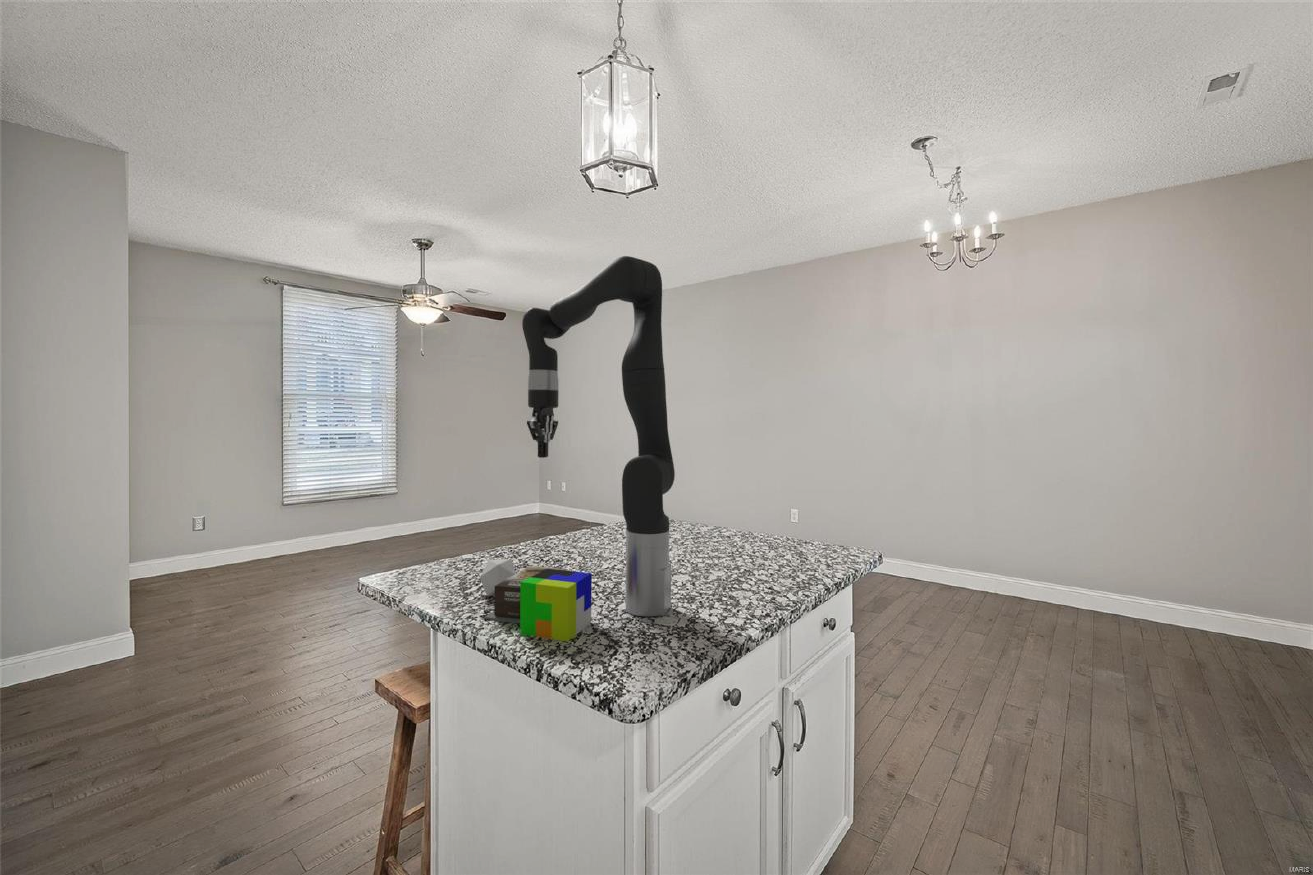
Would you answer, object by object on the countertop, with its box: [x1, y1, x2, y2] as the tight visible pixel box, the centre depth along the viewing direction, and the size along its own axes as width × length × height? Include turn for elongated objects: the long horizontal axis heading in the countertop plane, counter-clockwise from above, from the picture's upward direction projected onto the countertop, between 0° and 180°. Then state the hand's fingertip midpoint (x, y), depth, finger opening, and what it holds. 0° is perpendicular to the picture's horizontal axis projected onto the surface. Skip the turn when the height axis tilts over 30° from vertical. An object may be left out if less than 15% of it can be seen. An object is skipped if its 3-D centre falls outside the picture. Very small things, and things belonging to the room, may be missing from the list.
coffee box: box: [493, 565, 566, 618], centre depth 116 cm, size 9×6×16 cm
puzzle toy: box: [519, 569, 593, 643], centre depth 105 cm, size 10×10×10 cm
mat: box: [484, 610, 520, 624], centre depth 116 cm, size 9×16×1 cm, turn 165°
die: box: [479, 558, 517, 597], centre depth 125 cm, size 8×9×10 cm
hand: (543, 457), depth 137 cm, fingers closed
